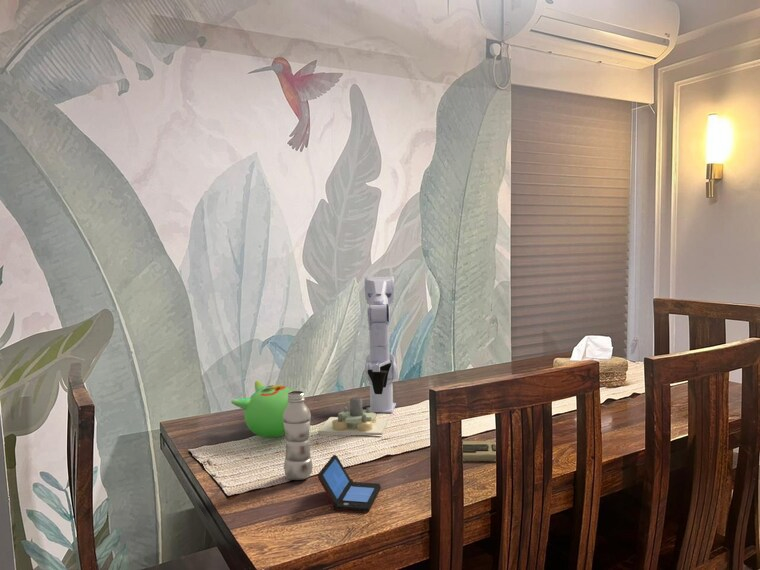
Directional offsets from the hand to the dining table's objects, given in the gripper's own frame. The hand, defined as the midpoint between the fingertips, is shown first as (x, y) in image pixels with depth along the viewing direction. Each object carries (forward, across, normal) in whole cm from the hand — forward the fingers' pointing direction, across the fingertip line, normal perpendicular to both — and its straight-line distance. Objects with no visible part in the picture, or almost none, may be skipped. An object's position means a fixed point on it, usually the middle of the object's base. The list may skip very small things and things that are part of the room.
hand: (380, 390), depth 171 cm
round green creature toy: (+10, +13, -29) cm, 33 cm away
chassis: (+10, +5, -7) cm, 13 cm away
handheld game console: (+10, +50, +1) cm, 51 cm away
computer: (+11, +23, +26) cm, 37 cm away
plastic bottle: (+10, +41, -13) cm, 44 cm away
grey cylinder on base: (+7, +5, -6) cm, 11 cm away
